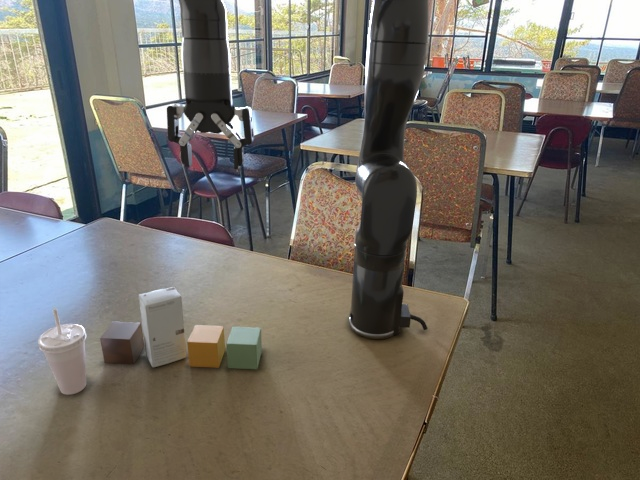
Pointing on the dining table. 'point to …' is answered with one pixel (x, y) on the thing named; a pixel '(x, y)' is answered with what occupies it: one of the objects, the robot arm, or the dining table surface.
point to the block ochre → (206, 346)
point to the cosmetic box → (163, 326)
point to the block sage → (244, 348)
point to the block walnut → (122, 342)
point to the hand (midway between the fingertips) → (213, 167)
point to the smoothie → (65, 355)
